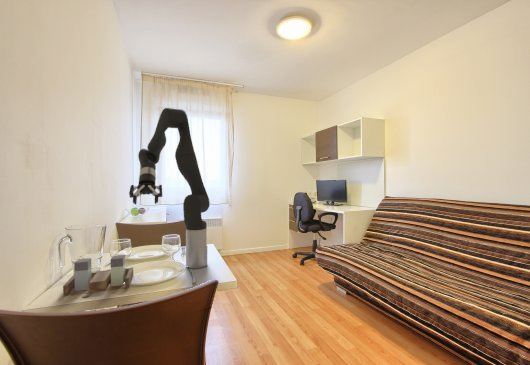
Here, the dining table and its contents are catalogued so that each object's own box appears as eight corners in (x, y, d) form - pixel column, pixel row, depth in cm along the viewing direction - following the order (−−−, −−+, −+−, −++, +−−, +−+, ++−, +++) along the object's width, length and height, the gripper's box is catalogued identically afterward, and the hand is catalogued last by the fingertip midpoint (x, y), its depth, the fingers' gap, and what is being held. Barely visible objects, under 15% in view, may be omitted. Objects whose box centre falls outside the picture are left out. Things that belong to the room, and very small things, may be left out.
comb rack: (133, 278, 102) (133, 267, 102) (129, 290, 91) (128, 277, 91) (75, 285, 95) (75, 273, 95) (63, 299, 85) (63, 285, 85)
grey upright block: (125, 280, 97) (124, 254, 97) (123, 284, 93) (122, 258, 93) (113, 282, 96) (113, 255, 96) (110, 286, 92) (110, 259, 92)
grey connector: (91, 284, 93) (91, 258, 93) (88, 289, 90) (87, 261, 89) (78, 286, 92) (78, 259, 92) (74, 291, 88) (74, 262, 88)
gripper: (130, 172, 122) (127, 198, 112) (162, 172, 127) (161, 197, 117) (132, 183, 128) (129, 208, 117) (162, 183, 133) (162, 207, 122)
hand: (145, 203), depth 117 cm, fingers open, 8 cm apart
